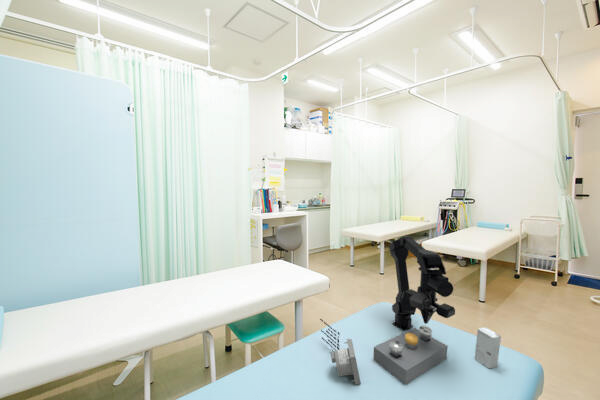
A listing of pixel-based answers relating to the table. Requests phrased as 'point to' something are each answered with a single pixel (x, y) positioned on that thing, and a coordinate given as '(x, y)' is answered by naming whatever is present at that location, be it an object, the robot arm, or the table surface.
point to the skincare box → (487, 347)
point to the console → (410, 357)
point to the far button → (425, 333)
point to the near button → (396, 348)
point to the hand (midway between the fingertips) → (425, 323)
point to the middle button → (411, 340)
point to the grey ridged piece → (344, 358)
